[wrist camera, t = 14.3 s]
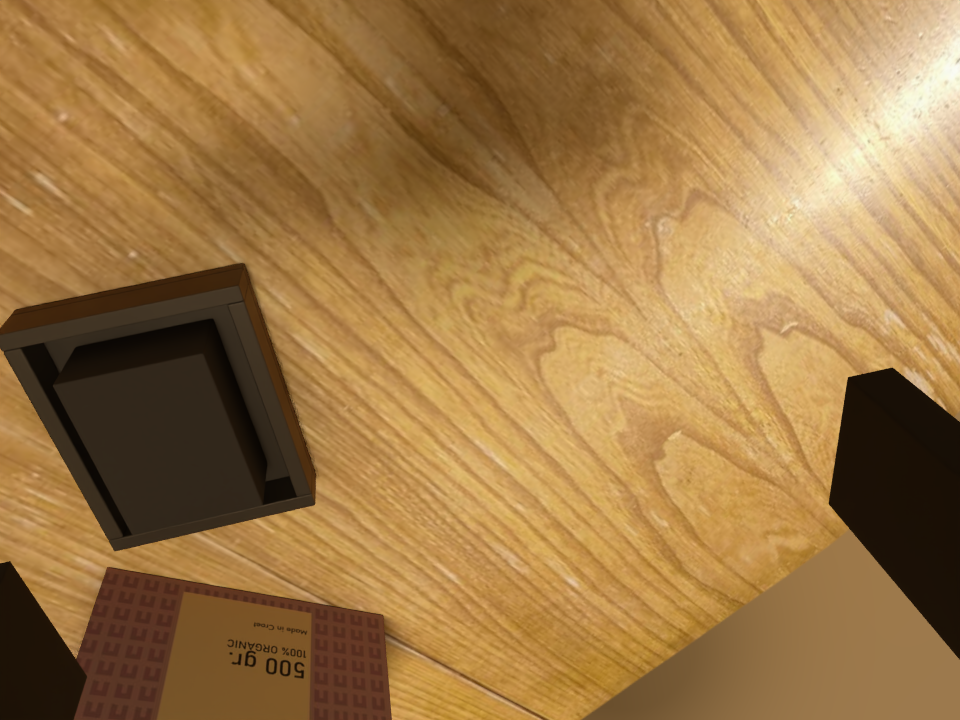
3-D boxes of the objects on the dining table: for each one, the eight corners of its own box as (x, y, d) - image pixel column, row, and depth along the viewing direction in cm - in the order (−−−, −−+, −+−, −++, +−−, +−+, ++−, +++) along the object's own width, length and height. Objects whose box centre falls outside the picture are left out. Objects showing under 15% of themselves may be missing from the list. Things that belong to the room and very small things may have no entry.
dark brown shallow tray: (14, 310, 34) (-7, 336, 32) (244, 262, 35) (238, 285, 33) (125, 518, 41) (114, 552, 39) (316, 474, 42) (315, 505, 40)
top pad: (74, 346, 35) (51, 385, 32) (213, 317, 36) (202, 353, 33) (146, 490, 40) (132, 536, 37) (267, 463, 40) (263, 506, 37)
